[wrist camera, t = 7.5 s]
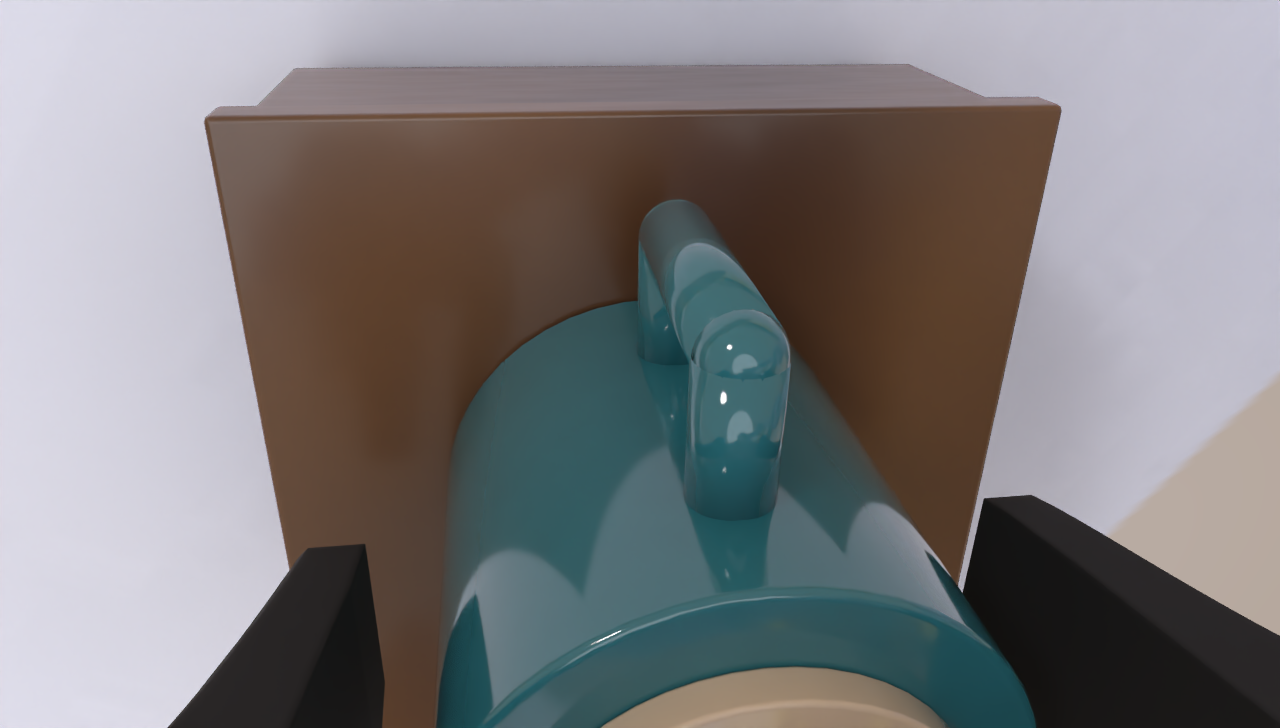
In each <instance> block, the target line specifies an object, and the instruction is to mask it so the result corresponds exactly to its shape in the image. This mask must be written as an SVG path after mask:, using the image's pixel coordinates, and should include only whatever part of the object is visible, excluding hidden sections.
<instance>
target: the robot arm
mask: <svg viewBox="0 0 1280 728" xmlns="http://www.w3.org/2000/svg"><path fill="white" fill-rule="evenodd" d="M963 595H964V596H965V598H966V599H967V601H968V602H969V604H970V605H971V607H972V608H973V610H974V611H975V613H976V614H977V616H978V617H979V619H980V620H981V622H982V623H983V625H984V626H985V628H986V629H987V631H988V632H989V634H990V635H991V637H992V638H993V640H994V641H995V643H996V644H997V646H998V647H999V649H1000V650H1001V652H1002V653H1003V655H1004V656H1005V658H1006V659H1007V660H1008V662H1009V663H1010V665H1011V667H1012V668H1013V670H1014V671H1015V673H1016V675H1017V676H1018V678H1019V679H1020V681H1021V683H1022V684H1023V686H1024V687H1025V689H1026V692H1027V695H1028V698H1029V700H1030V703H1031V706H1032V708H1033V711H1034V714H1035V720H1036V726H1037V728H1280V636H1279V635H1277V634H1275V633H1273V632H1271V631H1269V630H1268V629H1266V628H1264V627H1262V626H1260V625H1258V624H1256V623H1254V622H1253V621H1251V620H1249V619H1247V618H1246V617H1244V616H1242V615H1240V614H1238V613H1237V612H1235V611H1233V610H1231V609H1229V608H1228V607H1226V606H1224V605H1222V604H1220V603H1219V602H1217V601H1215V600H1214V599H1212V598H1210V597H1208V596H1207V595H1204V594H1203V593H1201V592H1200V591H1198V590H1196V589H1194V588H1193V587H1191V586H1189V585H1187V584H1186V583H1184V582H1182V581H1181V580H1179V579H1177V578H1175V577H1174V576H1172V575H1170V574H1169V573H1167V572H1165V571H1164V570H1162V569H1160V568H1159V567H1157V566H1155V565H1154V564H1152V563H1150V562H1148V561H1147V560H1145V559H1143V558H1142V557H1140V556H1138V555H1137V554H1135V553H1133V552H1132V551H1130V550H1128V549H1127V548H1125V547H1123V546H1122V545H1120V544H1118V543H1117V542H1115V541H1113V540H1112V539H1110V538H1108V537H1106V536H1105V535H1103V534H1101V533H1100V532H1098V531H1096V530H1095V529H1093V528H1091V527H1089V526H1088V525H1086V524H1084V523H1083V522H1081V521H1079V520H1077V519H1076V518H1074V517H1072V516H1070V515H1069V514H1067V513H1065V512H1063V511H1061V510H1060V509H1058V508H1056V507H1054V506H1052V505H1050V504H1048V503H1046V502H1044V501H1043V500H1041V499H1039V498H1037V497H1035V496H1032V495H1025V496H1011V497H998V498H984V500H983V505H982V509H981V514H980V518H979V523H978V527H977V532H976V536H975V540H974V545H973V549H972V554H971V558H970V563H969V567H968V572H967V576H966V581H965V585H964V590H963ZM384 692H385V678H384V671H383V664H382V657H381V650H380V643H379V636H378V629H377V622H376V615H375V608H374V601H373V594H372V587H371V580H370V573H369V566H368V559H367V552H366V545H365V544H356V545H342V546H329V547H315V548H307V549H306V550H305V551H304V552H303V553H302V554H301V555H300V556H299V557H298V559H297V560H296V562H295V563H294V565H293V566H292V567H291V569H290V570H289V572H288V573H287V575H286V576H285V578H284V579H283V580H282V582H281V583H280V585H279V586H278V587H277V589H276V590H275V592H274V593H273V595H272V596H271V597H270V599H269V600H268V602H267V603H266V604H265V606H264V607H263V608H262V610H261V611H260V613H259V614H258V615H257V617H256V618H255V619H254V621H253V622H252V623H251V625H250V626H249V627H248V629H247V630H246V631H245V633H244V634H243V635H242V637H241V638H240V639H239V641H238V642H237V643H236V645H235V646H234V647H233V648H232V650H231V651H230V652H229V653H228V655H227V656H226V657H225V659H224V660H223V661H222V662H221V664H220V665H219V666H218V667H217V669H216V670H215V671H214V673H213V674H212V675H211V676H210V678H209V679H208V680H207V681H206V683H205V684H204V685H203V686H202V688H201V689H200V690H199V692H198V693H197V694H196V695H195V696H194V698H193V699H192V700H191V701H190V702H189V704H188V705H187V706H186V707H185V708H184V710H183V711H182V712H181V713H180V714H179V715H178V716H177V718H176V719H175V720H174V721H173V722H172V723H171V725H170V726H169V727H168V728H382V723H383V707H384Z"/></svg>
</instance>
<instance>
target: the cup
mask: <svg viewBox="0 0 1280 728" xmlns="http://www.w3.org/2000/svg"><path fill="white" fill-rule="evenodd" d="M433 728H1037V726H1036V720H1035V714H1034V711H1033V708H1032V706H1031V703H1030V700H1029V698H1028V695H1027V692H1026V689H1025V687H1024V686H1023V684H1022V683H1021V681H1020V679H1019V678H1018V676H1017V675H1016V673H1015V671H1014V670H1013V668H1012V667H1011V665H1010V663H1009V662H1008V660H1007V659H1006V658H1005V656H1004V655H1003V653H1002V652H1001V650H1000V649H999V647H998V646H997V644H996V643H995V641H994V640H993V638H992V637H991V635H990V634H989V632H988V631H987V629H986V628H985V626H984V625H983V623H982V622H981V620H980V619H979V617H978V616H977V614H976V613H975V611H974V610H973V608H972V607H971V605H970V604H969V602H968V601H967V599H966V598H965V596H964V595H963V593H962V592H961V590H960V589H959V587H958V586H957V584H956V583H955V582H954V580H953V579H952V577H951V576H950V574H949V573H948V571H947V570H946V568H945V567H944V565H943V564H942V562H941V561H940V559H939V558H938V556H937V555H936V553H935V552H934V550H933V549H932V547H931V546H930V544H929V543H928V541H927V540H926V538H925V537H924V535H923V534H922V532H921V531H920V529H919V528H918V526H917V525H916V523H915V522H914V520H913V519H912V517H911V516H910V514H909V513H908V511H907V510H906V508H905V507H904V506H903V504H902V503H901V501H900V500H899V498H898V497H897V495H896V494H895V492H894V491H893V489H892V488H891V486H890V485H889V483H888V482H887V480H886V479H885V477H884V476H883V474H882V473H881V471H880V470H879V468H878V467H877V465H876V464H875V462H874V461H873V459H872V458H871V456H870V455H869V453H868V452H867V450H866V449H865V447H864V446H863V444H862V443H861V441H860V440H859V438H858V437H857V435H856V434H855V432H854V431H853V430H852V428H851V427H850V425H849V424H848V422H847V421H846V419H845V418H844V416H843V415H842V413H841V412H840V410H839V409H838V407H837V406H836V404H835V403H834V401H833V400H832V398H831V397H830V395H829V394H828V392H827V391H826V389H825V388H824V386H823V385H822V383H821V382H820V380H819V379H818V377H817V376H816V374H815V373H814V371H813V370H812V368H811V367H810V366H809V364H808V363H807V362H806V361H805V360H804V359H803V358H802V356H801V355H800V354H799V353H798V352H797V351H796V350H795V349H794V348H793V347H792V346H791V345H790V342H789V339H788V337H787V334H786V332H785V330H784V328H783V327H782V325H781V324H780V322H779V321H778V320H777V318H776V317H775V315H774V314H773V312H772V311H771V309H770V308H769V306H768V305H767V303H766V302H765V300H764V299H763V297H762V296H761V294H760V293H759V291H758V290H757V288H756V287H755V285H754V284H753V282H752V281H751V279H750V278H749V276H748V275H747V273H746V272H745V270H744V269H743V267H742V266H741V264H740V263H739V261H738V260H737V258H736V257H735V255H734V254H733V252H732V251H731V249H730V248H729V246H728V245H727V243H726V242H725V240H724V239H723V237H722V236H721V234H720V233H719V231H718V230H717V228H716V227H715V225H714V224H713V222H712V221H711V219H710V218H709V216H708V215H707V214H706V212H705V211H704V210H703V209H702V208H700V207H699V206H698V205H696V204H694V203H692V202H690V201H687V200H681V199H672V200H667V201H664V202H662V203H659V204H658V205H656V206H655V207H653V208H652V209H651V210H650V211H649V212H648V213H647V214H646V216H645V218H644V219H643V221H642V224H641V227H640V230H639V248H638V301H630V302H622V303H618V304H613V305H609V306H604V307H600V308H596V309H593V310H590V311H588V312H585V313H582V314H579V315H576V316H574V317H571V318H569V319H567V320H565V321H563V322H561V323H559V324H557V325H555V326H553V327H551V328H549V329H547V330H545V331H543V332H542V333H540V334H539V335H537V336H536V337H534V338H533V339H531V340H530V341H528V342H527V343H525V344H524V345H522V346H521V347H520V348H519V349H517V350H516V351H515V352H514V353H513V354H512V355H510V356H509V357H508V358H507V359H506V360H505V361H503V362H502V363H501V364H500V365H499V366H498V368H497V369H496V370H495V371H494V372H493V373H492V374H491V375H490V377H489V378H488V379H487V380H486V381H485V382H484V383H483V385H482V386H481V388H480V389H479V391H478V392H477V394H476V395H475V397H474V398H473V400H472V401H471V403H470V404H469V406H468V408H467V410H466V412H465V414H464V416H463V418H462V421H461V423H460V425H459V427H458V430H457V433H456V437H455V440H454V443H453V446H452V450H451V457H450V463H449V470H448V484H447V501H446V517H445V534H444V550H443V567H442V583H441V600H440V616H439V632H438V649H437V665H436V682H435V698H434V715H433Z"/></svg>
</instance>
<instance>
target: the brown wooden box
mask: <svg viewBox="0 0 1280 728" xmlns="http://www.w3.org/2000/svg"><path fill="white" fill-rule="evenodd" d="M1060 115H1061V107H1060V106H1059V105H1057V104H1054V103H1052V102H1049V101H1047V100H1044V99H1042V98H1039V97H983V96H981V95H978V94H976V93H974V92H971V91H969V90H967V89H965V88H962V87H960V86H958V85H955V84H953V83H951V82H948V81H946V80H944V79H941V78H939V77H937V76H935V75H932V74H930V73H928V72H925V71H923V70H921V69H918V68H916V67H914V66H911V65H909V64H862V65H711V66H561V67H410V68H296V69H293V70H292V71H291V72H290V73H289V74H288V75H287V76H286V77H285V78H284V79H283V80H282V81H281V82H280V83H279V84H278V85H277V86H276V87H275V88H274V89H273V90H272V91H271V92H270V93H269V94H268V95H267V96H266V97H265V98H264V99H263V100H262V101H261V102H260V103H259V104H258V105H257V106H228V107H218V108H216V109H215V110H214V111H212V112H211V113H210V114H209V115H208V116H206V117H205V121H204V125H205V130H206V135H207V140H208V146H209V151H210V156H211V161H212V167H213V172H214V177H215V182H216V187H217V193H218V198H219V203H220V208H221V214H222V219H223V224H224V229H225V235H226V240H227V245H228V250H229V256H230V261H231V266H232V271H233V277H234V282H235V287H236V292H237V298H238V303H239V308H240V313H241V319H242V324H243V329H244V334H245V340H246V345H247V350H248V355H249V360H250V366H251V371H252V376H253V381H254V387H255V392H256V397H257V402H258V408H259V413H260V418H261V423H262V429H263V434H264V439H265V444H266V450H267V455H268V460H269V465H270V471H271V476H272V481H273V486H274V492H275V497H276V502H277V507H278V512H279V518H280V523H281V528H282V533H283V539H284V544H285V549H286V554H287V560H288V565H289V570H290V569H291V567H292V566H293V565H294V563H295V562H296V560H297V559H298V557H299V556H300V555H301V554H302V553H303V552H304V551H305V550H306V549H307V548H315V547H329V546H342V545H356V544H365V545H366V552H367V559H368V566H369V573H370V580H371V587H372V594H373V601H374V608H375V615H376V622H377V629H378V636H379V643H380V650H381V657H382V664H383V671H384V678H385V692H384V707H383V723H382V728H433V715H434V698H435V682H436V665H437V649H438V632H439V616H440V600H441V583H442V567H443V550H444V534H445V517H446V501H447V484H448V470H449V463H450V457H451V450H452V446H453V443H454V440H455V437H456V433H457V430H458V427H459V425H460V423H461V421H462V418H463V416H464V414H465V412H466V410H467V408H468V406H469V404H470V403H471V401H472V400H473V398H474V397H475V395H476V394H477V392H478V391H479V389H480V388H481V386H482V385H483V383H484V382H485V381H486V380H487V379H488V378H489V377H490V375H491V374H492V373H493V372H494V371H495V370H496V369H497V368H498V366H499V365H500V364H501V363H502V362H503V361H505V360H506V359H507V358H508V357H509V356H510V355H512V354H513V353H514V352H515V351H516V350H517V349H519V348H520V347H521V346H522V345H524V344H525V343H527V342H528V341H530V340H531V339H533V338H534V337H536V336H537V335H539V334H540V333H542V332H543V331H545V330H547V329H549V328H551V327H553V326H555V325H557V324H559V323H561V322H563V321H565V320H567V319H569V318H571V317H574V316H576V315H579V314H582V313H585V312H588V311H590V310H593V309H596V308H600V307H604V306H609V305H613V304H618V303H622V302H630V301H638V248H639V230H640V227H641V224H642V221H643V219H644V218H645V216H646V214H647V213H648V212H649V211H650V210H651V209H652V208H653V207H655V206H656V205H658V204H659V203H662V202H664V201H667V200H672V199H681V200H687V201H690V202H692V203H694V204H696V205H698V206H699V207H700V208H702V209H703V210H704V211H705V212H706V214H707V215H708V216H709V218H710V219H711V221H712V222H713V224H714V225H715V227H716V228H717V230H718V231H719V233H720V234H721V236H722V237H723V239H724V240H725V242H726V243H727V245H728V246H729V248H730V249H731V251H732V252H733V254H734V255H735V257H736V258H737V260H738V261H739V263H740V264H741V266H742V267H743V269H744V270H745V272H746V273H747V275H748V276H749V278H750V279H751V281H752V282H753V284H754V285H755V287H756V288H757V290H758V291H759V293H760V294H761V296H762V297H763V299H764V300H765V302H766V303H767V305H768V306H769V308H770V309H771V311H772V312H773V314H774V315H775V317H776V318H777V320H778V321H779V322H780V324H781V325H782V327H783V328H784V330H785V332H786V334H787V337H788V339H789V342H790V345H791V346H792V347H793V348H794V349H795V350H796V351H797V352H798V353H799V354H800V355H801V356H802V358H803V359H804V360H805V361H806V362H807V363H808V364H809V366H810V367H811V368H812V370H813V371H814V373H815V374H816V376H817V377H818V379H819V380H820V382H821V383H822V385H823V386H824V388H825V389H826V391H827V392H828V394H829V395H830V397H831V398H832V400H833V401H834V403H835V404H836V406H837V407H838V409H839V410H840V412H841V413H842V415H843V416H844V418H845V419H846V421H847V422H848V424H849V425H850V427H851V428H852V430H853V431H854V432H855V434H856V435H857V437H858V438H859V440H860V441H861V443H862V444H863V446H864V447H865V449H866V450H867V452H868V453H869V455H870V456H871V458H872V459H873V461H874V462H875V464H876V465H877V467H878V468H879V470H880V471H881V473H882V474H883V476H884V477H885V479H886V480H887V482H888V483H889V485H890V486H891V488H892V489H893V491H894V492H895V494H896V495H897V497H898V498H899V500H900V501H901V503H902V504H903V506H904V507H905V508H906V510H907V511H908V513H909V514H910V516H911V517H912V519H913V520H914V522H915V523H916V525H917V526H918V528H919V529H920V531H921V532H922V534H923V535H924V537H925V538H926V540H927V541H928V543H929V544H930V546H931V547H932V549H933V550H934V552H935V553H936V555H937V556H938V558H939V559H940V561H941V562H942V564H943V565H944V567H945V568H946V570H947V571H948V573H949V574H950V576H951V577H952V579H953V580H954V582H955V583H956V584H957V586H958V582H959V577H960V573H961V568H962V564H963V559H964V554H965V550H966V545H967V541H968V536H969V532H970V527H971V522H972V518H973V513H974V509H975V504H976V500H977V495H978V490H979V486H980V481H981V477H982V472H983V468H984V463H985V458H986V454H987V449H988V445H989V440H990V436H991V431H992V426H993V422H994V417H995V413H996V408H997V404H998V399H999V394H1000V390H1001V385H1002V381H1003V376H1004V372H1005V367H1006V362H1007V358H1008V353H1009V349H1010V344H1011V340H1012V335H1013V330H1014V326H1015V321H1016V317H1017V312H1018V307H1019V303H1020V298H1021V294H1022V289H1023V285H1024V280H1025V275H1026V271H1027V266H1028V262H1029V257H1030V253H1031V248H1032V243H1033V239H1034V234H1035V230H1036V225H1037V221H1038V216H1039V211H1040V207H1041V202H1042V198H1043V193H1044V189H1045V184H1046V179H1047V175H1048V170H1049V166H1050V161H1051V157H1052V152H1053V147H1054V143H1055V138H1056V134H1057V129H1058V125H1059V120H1060Z"/></svg>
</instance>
